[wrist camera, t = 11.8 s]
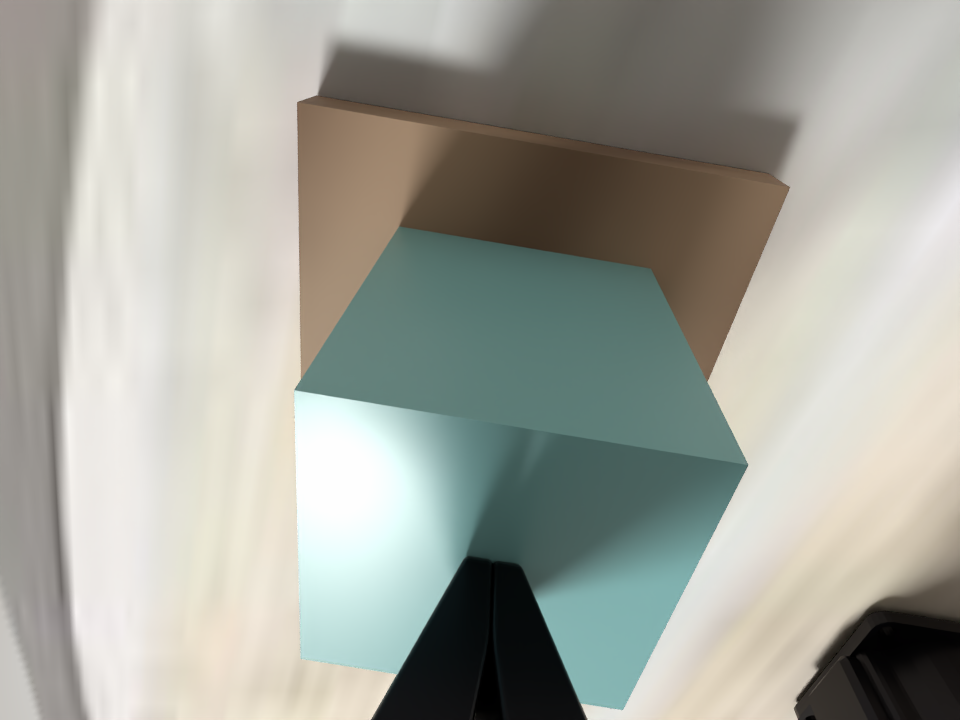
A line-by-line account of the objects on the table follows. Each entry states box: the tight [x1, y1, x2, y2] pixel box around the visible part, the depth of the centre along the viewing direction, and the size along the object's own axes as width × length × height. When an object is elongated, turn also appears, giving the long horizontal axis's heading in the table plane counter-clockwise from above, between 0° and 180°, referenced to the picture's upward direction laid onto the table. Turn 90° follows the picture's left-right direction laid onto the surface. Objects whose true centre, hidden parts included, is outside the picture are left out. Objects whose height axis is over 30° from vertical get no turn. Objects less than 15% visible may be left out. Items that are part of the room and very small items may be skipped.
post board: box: [297, 96, 790, 381], centre depth 12 cm, size 10×10×6 cm
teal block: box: [294, 226, 748, 710], centre depth 11 cm, size 6×6×6 cm
